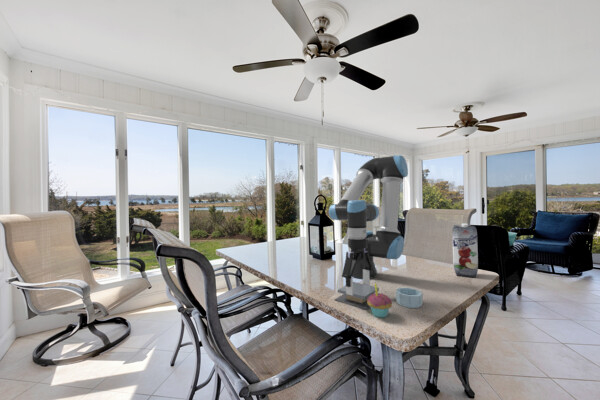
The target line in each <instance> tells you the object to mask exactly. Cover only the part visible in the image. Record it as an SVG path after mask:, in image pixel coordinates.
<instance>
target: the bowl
mask: <svg viewBox="0 0 600 400" xmlns="http://www.w3.org/2000/svg"><path fill="white" fill-rule="evenodd" d="M423 294H424V293H423V292H422V291H421V290H419V289H417V288H413V287H406V286H405V287H398V288H397V289H395V300H396V303H397V304H398V305H399V306H401V307H404V308H408V309H419V308H421V307H422V306H423V303H424V300H423V299H424V296H423Z"/></svg>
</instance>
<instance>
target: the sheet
mask: <svg viewBox="0 0 600 400" xmlns="http://www.w3.org/2000/svg"><path fill="white" fill-rule="evenodd" d="M379 291H380V289H379V287H378V286H377V292H378V293H379ZM337 293H340V294H342V295H343V294H346V285H344V286H342V287H340V288H338V289H337ZM375 293H376V291H375V286H373V285H370V286H369V285H365V284H363V283H360V282H356V281H353V295H349V296H353V297H356V298H360V299H364V300H365V299H367V298H368V297H369V295H372V294H375ZM346 295H348V294H346Z"/></svg>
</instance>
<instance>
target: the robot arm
mask: <svg viewBox="0 0 600 400" xmlns="http://www.w3.org/2000/svg"><path fill="white" fill-rule="evenodd" d="M408 172H409V169H408V163H407V161H406V158H405V157H404V156H403V155H402V154H401V155H398V154H397V155H390V156H381V157H373V158H371V159H369V160H368V161H366V162H365V163H364V164H363V165H362V166H360V168H358V170H357V171H356V172H355V173H356V174H355V178H354V179H353V180H352V182H351V183H350V185H349V187H348V188H347V190H346V191H345V193H344V194H343V195H342V197H341V199H340V200H339V202H338V203H335V204H331V205H329V209H328V215H329V218H330V219H331V220H332V221H333V220H334V221H347V237H348V239H347V247H348V248H349V249H350V251H346V252H345V261H344V264H343V265H344V266H343V269H342V273H341V278H345V286H346V294H348V295H353V282H354V279H353V278H357V279H362V284H365V285H369V286H371V285H370V283H371V282H370V281H371V280H370V279H373V278H376V277H377V276H378V270H377V267H376V264H375V262H374V258H380V259H387V260H398V259H400V257H401V256H402V254H403V252H404V247H405V239H404V237H403V236H402V235H401V232H400V231H399V229H398V222H399V204H400V190H401V189H400V188H401V184H402V183H403V182H404V178H407V177H408V174H409V173H408ZM377 179H378V180H379V181H380V182H381V183H382V190H381V204H380V210H379V208H378V206H377V205H375V204H373V203H372V204H371V203H367V201H366V200H365V199H364V200H363V199H362V200H361V197H362V195H363V194H364V192H365V190H366V189H367V187H368V186H369V184H371V183H372V182H373V181H374V180H377ZM379 215H380V216H379ZM378 217H379V228H377V229H376V232H375V233H374V232H373V231H372V230H367V222H372V221H376V220H377V218H378Z"/></svg>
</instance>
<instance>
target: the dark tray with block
mask: <svg viewBox="0 0 600 400" xmlns="http://www.w3.org/2000/svg"><path fill="white" fill-rule="evenodd" d="M334 301H336V302H339V303H342V304H346V305H349V306H353V307H354V308H355V307H356V308H358V309H362V310H364V311H366V310H368V309H371V307H370V306H369V305H368V304H367V299H365V300H364V299H360V298H356V297H353V296H349V295H346V294H342V295H340V296H338V297H336V298H335V299H334Z"/></svg>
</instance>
